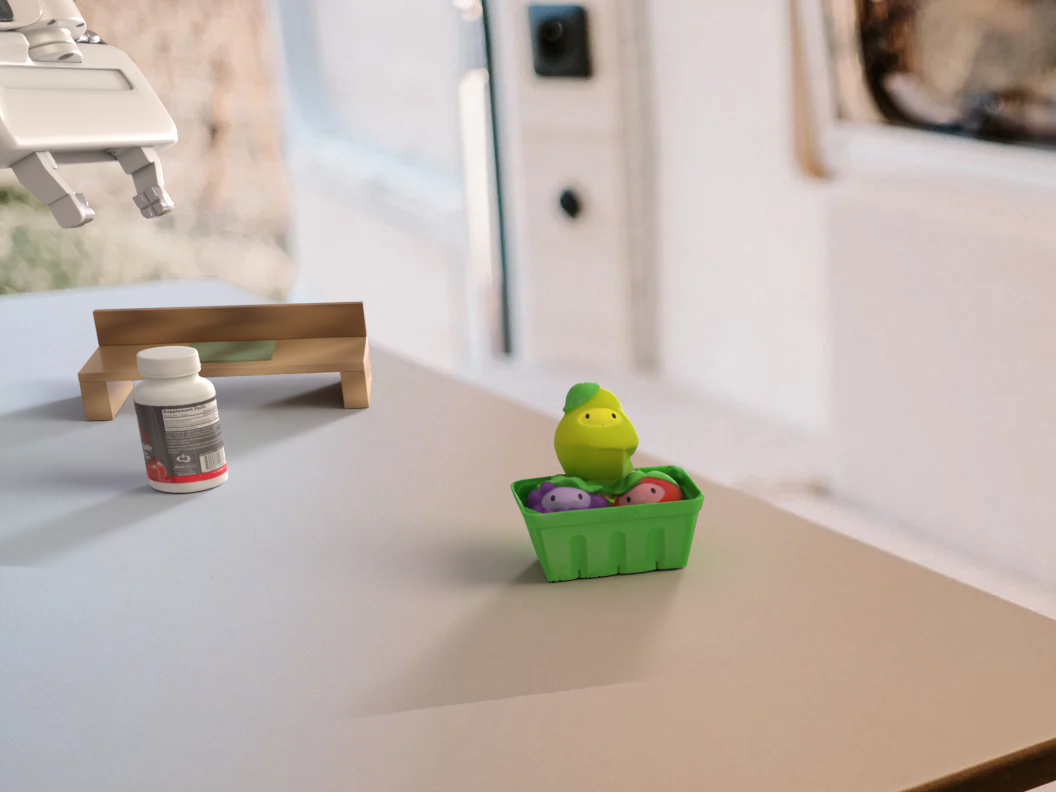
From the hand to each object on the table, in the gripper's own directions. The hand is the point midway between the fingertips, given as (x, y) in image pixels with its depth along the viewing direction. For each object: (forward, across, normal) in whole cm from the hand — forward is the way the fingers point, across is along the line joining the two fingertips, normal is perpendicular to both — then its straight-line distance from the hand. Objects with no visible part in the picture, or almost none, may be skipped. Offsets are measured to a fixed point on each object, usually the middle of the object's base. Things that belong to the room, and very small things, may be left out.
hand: (122, 219), depth 111 cm
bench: (+12, -25, -14) cm, 31 cm away
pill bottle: (+18, -2, -7) cm, 19 cm away
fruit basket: (+34, +9, +23) cm, 42 cm away
